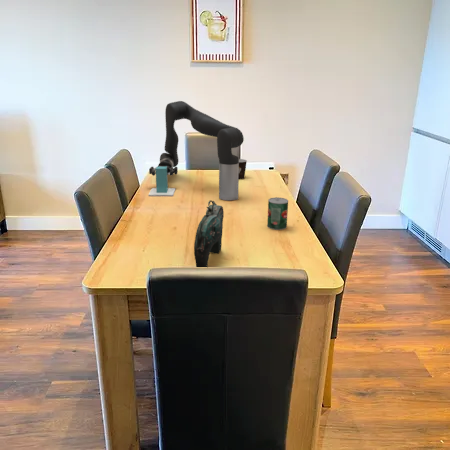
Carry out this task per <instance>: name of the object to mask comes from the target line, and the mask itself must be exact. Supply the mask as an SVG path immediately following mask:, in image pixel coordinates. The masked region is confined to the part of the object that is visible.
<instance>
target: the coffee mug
mask: <svg viewBox="0 0 450 450" xmlns="http://www.w3.org/2000/svg"><path fill="white" fill-rule="evenodd" d="M247 162H248V161H247V160H246V159H244V158H243V159H242V158H239V172H238V180H243V179H245V176H246V170H247V168H246V167H247Z"/></svg>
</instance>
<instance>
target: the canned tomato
mask: <svg viewBox="0 0 450 450" xmlns="http://www.w3.org/2000/svg"><path fill="white" fill-rule="evenodd" d="M288 210H289V200H288V199H287V198H284V197H277V196H276V197H270V198H268V202H267V220H266V221H267V222H266V223H267V225H266V227H267V228H268V229H270V230H276V231H280V230H281V231H282V230H283V231H284V230H286V229H287V228H288V215H289V214H288V212H289V211H288Z"/></svg>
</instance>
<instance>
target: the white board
mask: <svg viewBox="0 0 450 450" xmlns="http://www.w3.org/2000/svg"><path fill="white" fill-rule="evenodd" d="M175 192H176V187H168V191H167V193H157V190H156V187H151V189H150V191H149V193H148V197H174V195H175Z"/></svg>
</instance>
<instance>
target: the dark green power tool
mask: <svg viewBox="0 0 450 450" xmlns="http://www.w3.org/2000/svg"><path fill="white" fill-rule="evenodd" d="M211 203H212V204H211ZM207 204H208V205H207V206H206V208H207V209H206V212H205V214H204V216H202V218H201V220H200V222H199V223H198V225H197V228H196V232H195V238H194V244H193V250H194V251H193V254H194V260H195V267H207V268H209V265H208V264H209V259H210V254H220V252H221V251H222V239H223V228H224V227H223V224H224V213H225V212H224V207H223V206H222V205H219V204H217V203H216V202H215V200H211V199H210V200H208V201H207Z"/></svg>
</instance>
